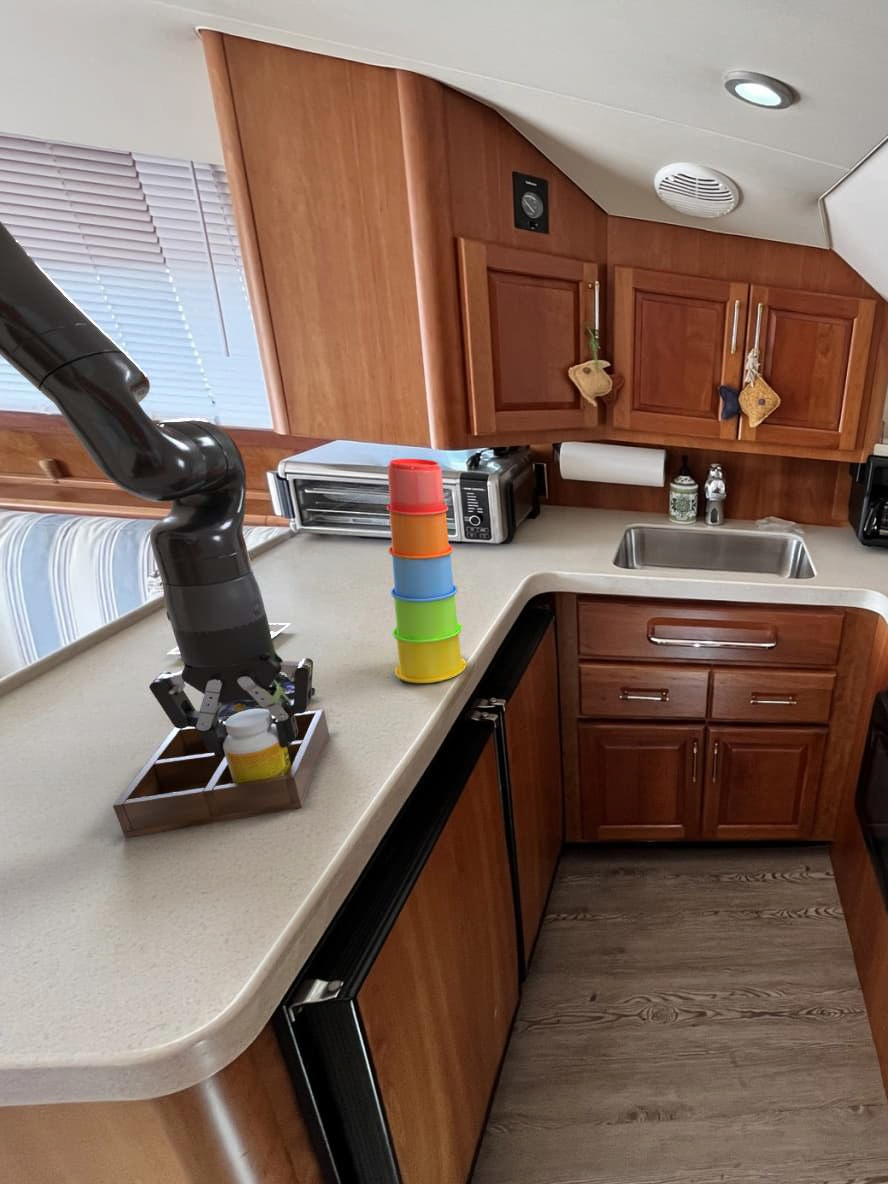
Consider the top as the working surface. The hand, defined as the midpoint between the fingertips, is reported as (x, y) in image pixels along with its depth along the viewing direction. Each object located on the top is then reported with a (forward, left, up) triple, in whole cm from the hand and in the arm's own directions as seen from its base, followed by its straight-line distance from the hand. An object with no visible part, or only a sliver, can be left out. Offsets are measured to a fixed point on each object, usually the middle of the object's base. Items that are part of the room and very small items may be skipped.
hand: (255, 747), depth 73 cm
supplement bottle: (0, 0, -6) cm, 6 cm away
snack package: (-6, +23, -7) cm, 24 cm away
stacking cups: (+15, +28, -7) cm, 33 cm away
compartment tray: (-4, +4, -6) cm, 8 cm away
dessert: (-16, +47, -7) cm, 50 cm away
